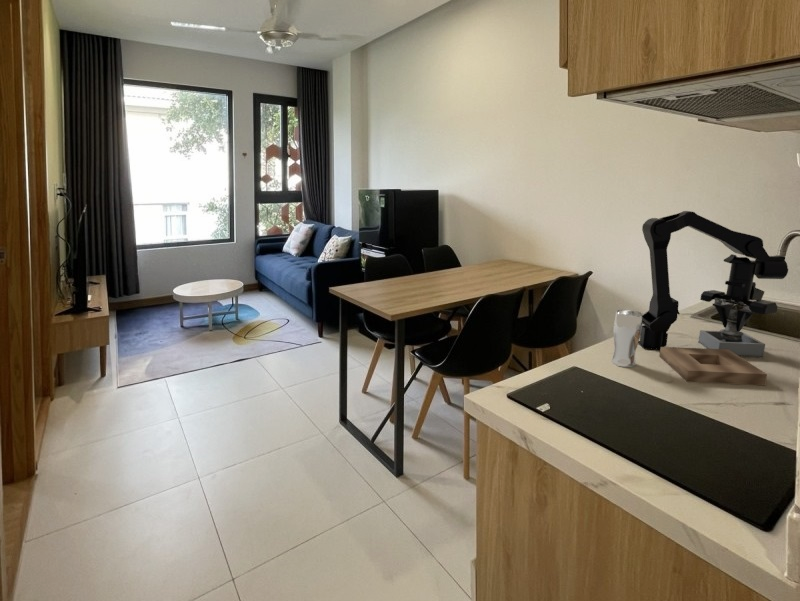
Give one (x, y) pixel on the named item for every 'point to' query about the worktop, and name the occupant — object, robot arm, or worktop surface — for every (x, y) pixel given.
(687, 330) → the worktop surface
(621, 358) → the beer glass
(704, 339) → the bin
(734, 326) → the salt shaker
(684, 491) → the worktop surface
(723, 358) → the socket block
